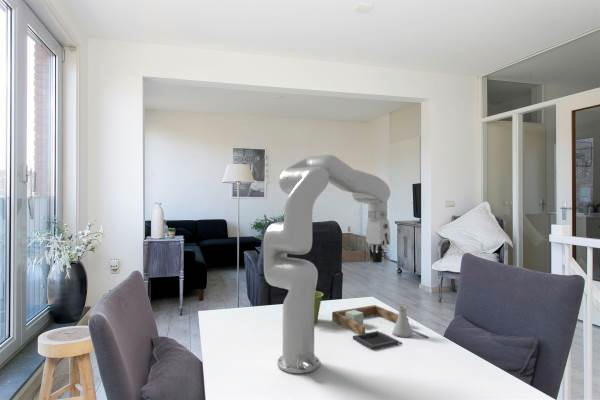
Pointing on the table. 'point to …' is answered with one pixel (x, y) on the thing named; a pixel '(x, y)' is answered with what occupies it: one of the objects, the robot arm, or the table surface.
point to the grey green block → (355, 316)
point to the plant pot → (317, 304)
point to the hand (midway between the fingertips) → (377, 262)
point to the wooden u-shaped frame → (367, 311)
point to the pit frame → (375, 340)
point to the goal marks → (414, 332)
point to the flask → (402, 324)
